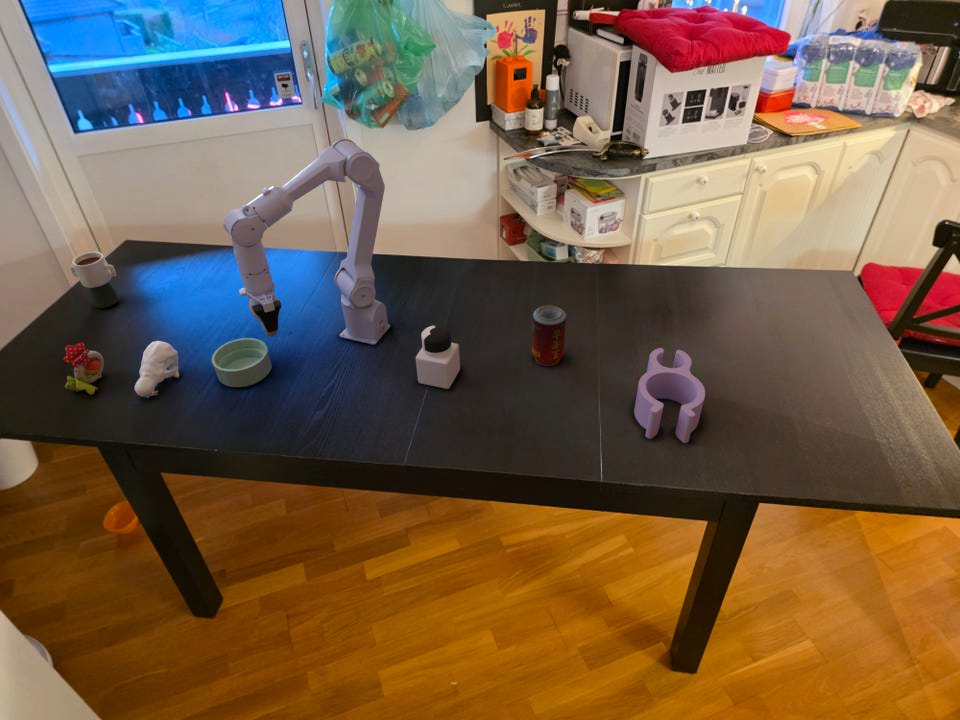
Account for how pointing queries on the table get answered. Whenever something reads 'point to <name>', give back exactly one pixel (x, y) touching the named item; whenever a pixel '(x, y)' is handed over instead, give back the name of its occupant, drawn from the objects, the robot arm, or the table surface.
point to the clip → (669, 394)
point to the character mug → (96, 278)
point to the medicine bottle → (437, 358)
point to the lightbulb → (251, 303)
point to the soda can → (548, 334)
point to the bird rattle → (83, 367)
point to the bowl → (242, 362)
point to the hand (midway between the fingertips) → (268, 323)
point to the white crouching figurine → (156, 367)
